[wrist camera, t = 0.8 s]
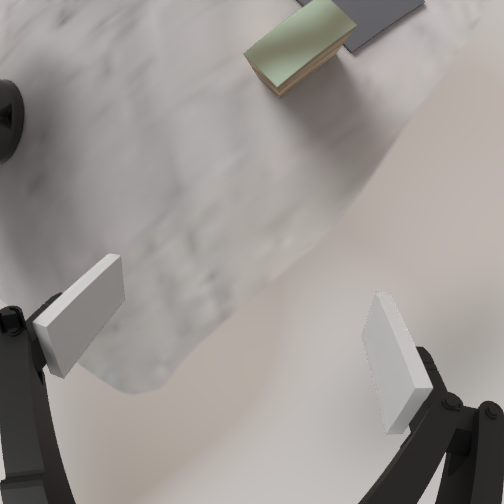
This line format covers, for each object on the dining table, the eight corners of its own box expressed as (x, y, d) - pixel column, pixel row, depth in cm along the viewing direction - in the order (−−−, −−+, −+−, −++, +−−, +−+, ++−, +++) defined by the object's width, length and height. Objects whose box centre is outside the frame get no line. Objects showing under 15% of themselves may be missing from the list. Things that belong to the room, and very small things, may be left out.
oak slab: (256, 74, 33) (243, 53, 22) (312, 30, 30) (323, -7, 19) (280, 98, 34) (277, 86, 23) (336, 53, 31) (356, 25, 20)
